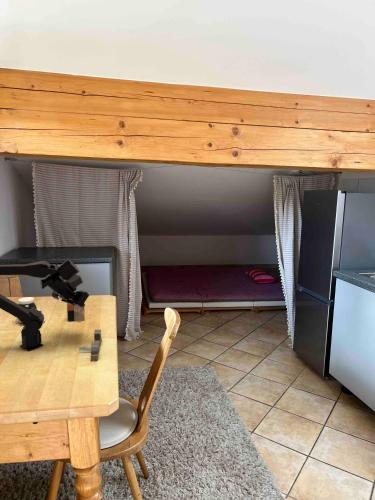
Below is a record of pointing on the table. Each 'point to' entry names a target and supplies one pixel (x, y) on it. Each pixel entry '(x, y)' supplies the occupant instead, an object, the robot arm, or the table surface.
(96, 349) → the rail
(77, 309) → the tan wooden block
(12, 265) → the robot arm
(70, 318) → the battery
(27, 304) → the spread jar
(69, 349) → the table surface
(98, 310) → the table surface
